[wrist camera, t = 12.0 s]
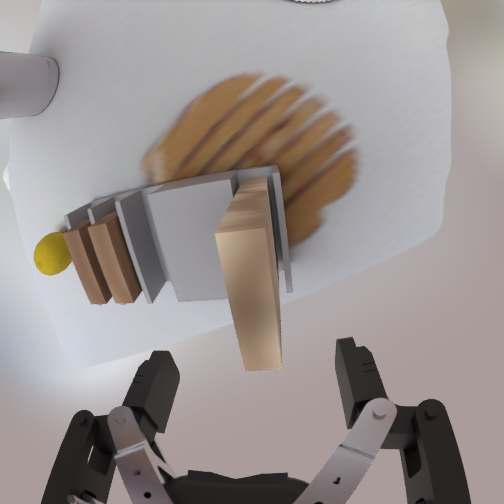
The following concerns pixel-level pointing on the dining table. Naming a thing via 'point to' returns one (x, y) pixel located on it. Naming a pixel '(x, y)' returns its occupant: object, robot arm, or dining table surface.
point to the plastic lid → (312, 0)
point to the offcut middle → (115, 258)
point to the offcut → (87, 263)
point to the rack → (185, 230)
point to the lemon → (52, 254)
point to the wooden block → (252, 274)
